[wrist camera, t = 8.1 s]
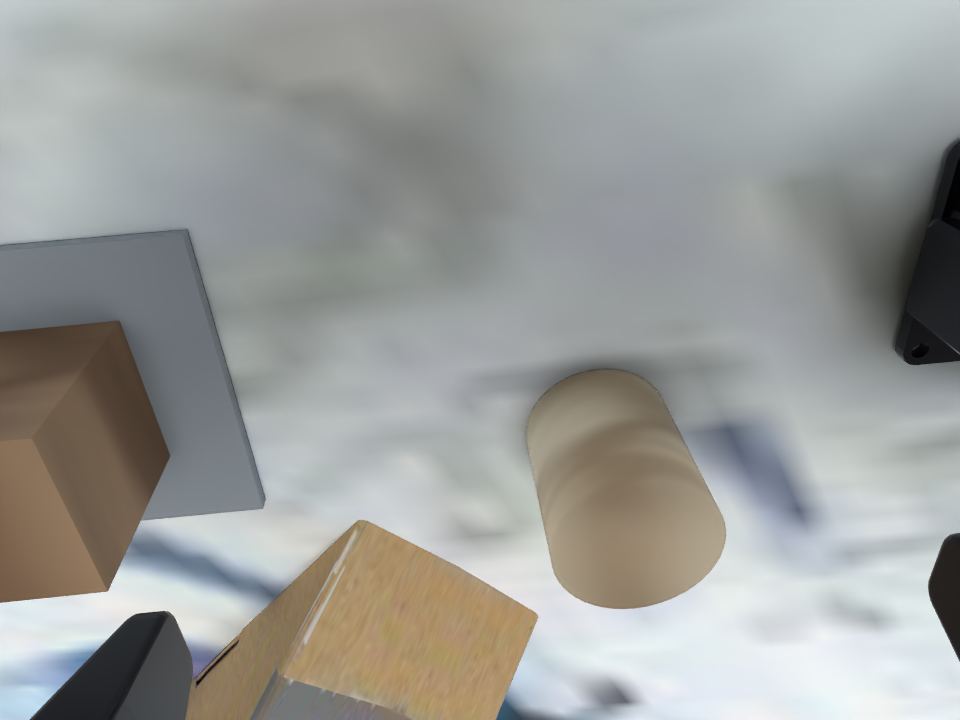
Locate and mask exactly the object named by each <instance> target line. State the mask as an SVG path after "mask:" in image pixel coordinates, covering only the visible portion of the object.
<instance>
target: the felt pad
mask: <svg viewBox="0 0 960 720" xmlns="http://www.w3.org/2000/svg"><path fill="white" fill-rule="evenodd" d="M110 321H120V323H121V326H122V328H123V331H124V334H125V336H126V339H127V342H128V344H129V347H130V349H131V352H132V355H133V357H134V360H135V363H136V365H137V368H138V371H139V373H140V376H141V379H142V381H143V384H144V387H145V389H146V392H147V395H148V397H149V400H150V403H151V405H152V408H153V411H154V413H155V416H156V419H157V421H158V424H159V427H160V429H161V432H162V435H163V437H164V440H165V443H166V445H167V448H168V451H169V453H170V458H169V460H168V462H167V465H166V467H165V469H164V471H163V473H162V475H161V478H160V480H159V482H158V484H157V486H156V488H155V490H154V493H153V495H152V497H151V499H150V501H149V503H148V506H147V508H146V510H145V512H144V514H143V516H142V519H141V520H151V519H162V518H172V517H182V516H193V515H203V514H213V513H223V512H234V511H244V510H254V509H263V507H264V503H265V497H264V493H263V490H262V486H261V483H260V480H259V476H258V473H257V469H256V466H255V462H254V459H253V455H252V452H251V449H250V445H249V442H248V438H247V435H246V431H245V428H244V424H243V421H242V418H241V414H240V411H239V407H238V404H237V400H236V397H235V394H234V390H233V387H232V383H231V380H230V376H229V373H228V369H227V366H226V363H225V359H224V356H223V352H222V349H221V345H220V342H219V338H218V335H217V332H216V328H215V325H214V321H213V318H212V314H211V311H210V307H209V304H208V301H207V297H206V294H205V290H204V287H203V283H202V280H201V276H200V273H199V270H198V266H197V263H196V259H195V256H194V252H193V249H192V245H191V242H190V239H189V235H188V232H187V230H177V231H165V232H154V233H142V234H130V235H119V236H107V237H95V238H83V239H72V240H60V241H48V242H36V243H25V244H13V245H1V246H0V332H5V331H15V330H26V329H36V328H47V327H58V326H68V325H79V324H89V323H100V322H110Z"/></svg>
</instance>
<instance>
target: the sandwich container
mask: <svg viewBox="0 0 960 720" xmlns="http://www.w3.org/2000/svg"><path fill="white" fill-rule="evenodd" d="M537 619H538V615H537V614H536V613H535V612H534V611H532V610H530V609H529V608H527V607H525V606H523V605H522V604H520V603H518V602H517V601H515V600H513V599H512V598H510V597H508V596H507V595H505V594H503V593H502V592H500V591H498V590H497V589H495V588H493V587H491V586H490V585H488V584H486V583H485V582H483V581H481V580H480V579H478V578H476V577H475V576H473V575H471V574H470V573H468V572H466V571H465V570H463V569H461V568H460V567H458V566H456V565H454V564H452V563H450V562H448V561H446V560H444V559H442V558H440V557H438V556H436V555H434V554H432V553H430V552H428V551H426V550H424V549H422V548H420V547H418V546H416V545H414V544H412V543H410V542H408V541H406V540H404V539H402V538H400V537H398V536H396V535H394V534H392V533H390V532H388V531H386V530H384V529H382V528H380V527H378V526H376V525H374V524H372V523H370V522H368V521H365V520H359V521H357V522H356V523H355V524H354V525H353V526H352V527H351V528H350V529H349V530H348V531H347V532H346V533H345V534H343V535H342V536H341V537H340V538H339V539H338V540H337V541H336V542H335V543H334V544H333V545H332V546H331V547H330V548H329V549H328V550H327V551H325V552H324V553H323V554H322V555H321V556H320V557H319V558H318V559H317V560H316V561H315V562H314V563H313V564H312V565H311V566H310V567H309V568H307V569H306V570H305V571H304V572H303V573H302V574H301V575H300V576H299V577H298V578H297V579H296V580H295V581H294V582H293V583H292V584H291V585H289V586H288V587H287V588H286V589H285V590H284V591H283V592H282V593H281V594H280V595H279V596H278V597H277V598H276V599H275V600H274V601H273V602H271V603H270V604H269V605H268V606H267V607H266V608H265V609H264V610H263V611H262V612H261V613H260V614H259V615H258V616H257V617H256V618H255V619H253V620H252V621H251V622H250V623H249V624H248V625H247V626H246V627H245V628H244V629H243V631H242V632H241V633H240V634H239V635H238V636H237V637H236V638H235V639H234V640H233V641H232V642H231V643H230V644H229V645H228V646H227V647H226V648H225V649H224V650H223V651H222V652H221V653H220V654H219V655H218V656H217V657H216V658H215V659H214V660H213V661H212V662H211V663H210V664H209V665H208V666H207V667H206V668H205V669H204V670H203V671H202V672H201V673H200V674H199V675H198V676H197V677H196V678H194V679H193V680H192V682H191V688H190V694H189V701H188V707H187V713H186V720H496V718H497V715H498V713H499V710H500V708H501V706H502V703H503V701H504V698H505V696H506V694H507V691H508V689H509V686H510V684H511V682H512V679H513V677H514V674H515V672H516V670H517V667H518V665H519V662H520V660H521V658H522V655H523V653H524V650H525V648H526V646H527V643H528V641H529V638H530V636H531V634H532V631H533V629H534V626H535V624H536V622H537ZM238 640H239V642H238V644H236V645H235V646H234V647H233V648H232V649H231V650H230V651H229V652H228V653H227V654H226V655H225V656H224V657H223V658H222V659H221V660H220V661H219V662H218V663H217V664H216V665H215V666H214V667H213V668H212V669H211V670H210V671H209V672H208V673H207V674H206V676H205V677H204V678H203V680H202V681H201V682H200V684H199V685H198V686H197V685H196V682H198V681H199V680H200V679H201V677H202V676H203V675H204V674H205V672H206V671H207V670H208V669H209V668H210V667H211V666H212V665H213V664H214V663H215V662H216V661H217V660H218V659H219V658H220V657H221V656H222V655H223V654H224V653H225V652H226V651H227V650H228V649H229V648H230V647H231V646H232V645H233V644H235V643H236V642H237V641H238Z"/></svg>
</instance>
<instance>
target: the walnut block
mask: <svg viewBox="0 0 960 720" xmlns="http://www.w3.org/2000/svg"><path fill="white" fill-rule="evenodd" d="M169 458H170V453H169V451H168V448H167V445H166V443H165V440H164V437H163V435H162V432H161V429H160V427H159V424H158V421H157V419H156V416H155V413H154V411H153V408H152V405H151V403H150V400H149V397H148V395H147V392H146V389H145V387H144V384H143V381H142V379H141V376H140V373H139V371H138V368H137V365H136V363H135V360H134V357H133V355H132V352H131V349H130V347H129V344H128V342H127V339H126V336H125V334H124V331H123V328H122V326H121V323H120V321H110V322H100V323H89V324H79V325H68V326H58V327H47V328H36V329H26V330H15V331H5V332H0V603H2V602H11V601H21V600H30V599H40V598H50V597H59V596H69V595H78V594H88V593H97V592H107V591H108V590H109V588H110V585H111V583H112V581H113V579H114V577H115V575H116V573H117V570H118V568H119V566H120V564H121V562H122V560H123V557H124V555H125V553H126V551H127V549H128V547H129V544H130V542H131V540H132V538H133V536H134V534H135V532H136V529H137V527H138V525H139V523H140V521H141V519H142V516H143V514H144V512H145V510H146V508H147V506H148V503H149V501H150V499H151V497H152V495H153V493H154V490H155V488H156V486H157V484H158V482H159V480H160V478H161V475H162V473H163V471H164V469H165V467H166V465H167V462H168V460H169Z"/></svg>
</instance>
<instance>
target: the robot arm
mask: <svg viewBox="0 0 960 720" xmlns="http://www.w3.org/2000/svg"><path fill="white" fill-rule="evenodd" d="M905 308H906V309H905V313H904V316H903V320H902V324H901V327H900V331H899V335H898V338H897V342H896V347H895V351H896V353H897V355H898V356H899V357H901V358H902V359H903V360H904V361H905V362H907V363H908V364H910V365H921V364H932V363H943V362H953V361H960V142H958V143H957V144H956V145H955V146H954V147H953V149H952V150H951V151H950V153H949V156H948V158H947V161H946V165H945V168H944V172H943V176H942V179H941V183H940V186H939V190H938V194H937V197H936V201H935V205H934V208H933V212H932V215H931V219H930V223H929V226H928V228H927V230H926V233H925V237H924V240H923V244H922V248H921V251H920V255H919V258H918V262H917V266H916V269H915V273H914V277H913V280H912V284H911V287H910V291H909V295H908V298H907V302H906V306H905ZM917 344H920V345H919V347H917V348H916V349H915V350H913V348H914V347H915V346H916V345H917ZM928 590H929V596H930V600H931V602H932V605H933V607H934V609H935V611H936V613H937V615H938V617H939V619H940V622H941V624H942V626H943V628H944V630H945V632H946V634H947V636H948V638H949V640H950V642H951V644H952V647H953V649H954V651H955V653H956V655H957V657H958V659H959V661H960V533H956V534H951V535H949V536H948V537H947V538H946V539H945V540H944V541H943V543H942V546H941V549H940V551H939V554H938V557H937V560H936V562H935V565H934V568H933V570H932V573H931V576H930V578H929V583H928ZM192 674H193V664H192V657H191V654H190V651H189V649H188V647H187V645H186V642H185V640H184V638H183V635H182V633H181V631H180V628H179V626H178V624H177V622H176V619H175V618H174V616H173V615H172V614H171V613H170V612H167V611H159V612H149V613H140V614H135V615H133V616H132V617H130V618H129V619H127V620H126V621H125V622H124V623H123V624H122V625H121V626H120V627H119V628H118V629H117V630H116V631H115V632H114V633H113V634H112V635H111V636H110V638H109V639H108V640H107V641H106V642H105V643H104V644H103V645H102V646H101V647H100V648H99V649H98V650H97V651H96V652H95V653H94V654H93V655H92V656H91V657H90V658H89V659H88V660H87V661H86V662H85V663H84V664H83V665H82V666H81V667H80V668H79V669H78V670H77V671H76V672H75V674H74V675H73V676H72V677H71V678H70V679H69V680H68V681H67V682H66V683H65V684H64V685H63V686H62V687H61V688H60V689H59V690H58V691H57V692H56V693H55V694H54V695H53V696H52V697H51V698H50V699H49V700H48V701H47V702H46V703H45V704H44V705H43V706H42V707H41V708H40V709H39V711H38V712H37V713H36V714H35V715H34V716H33V717H32V718H31V719H30V720H186V713H187V707H188V701H189V694H190V688H191V682H192Z"/></svg>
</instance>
